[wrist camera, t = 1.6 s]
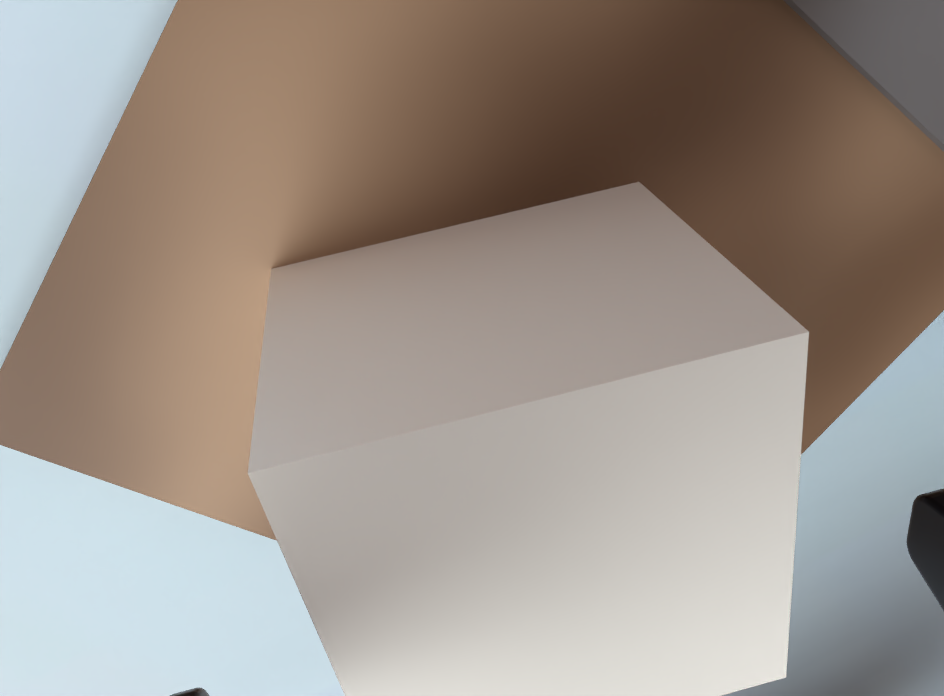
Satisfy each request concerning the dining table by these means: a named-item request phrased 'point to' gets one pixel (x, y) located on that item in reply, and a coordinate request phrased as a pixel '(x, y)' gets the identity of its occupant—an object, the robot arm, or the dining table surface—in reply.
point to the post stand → (470, 191)
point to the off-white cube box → (536, 456)
